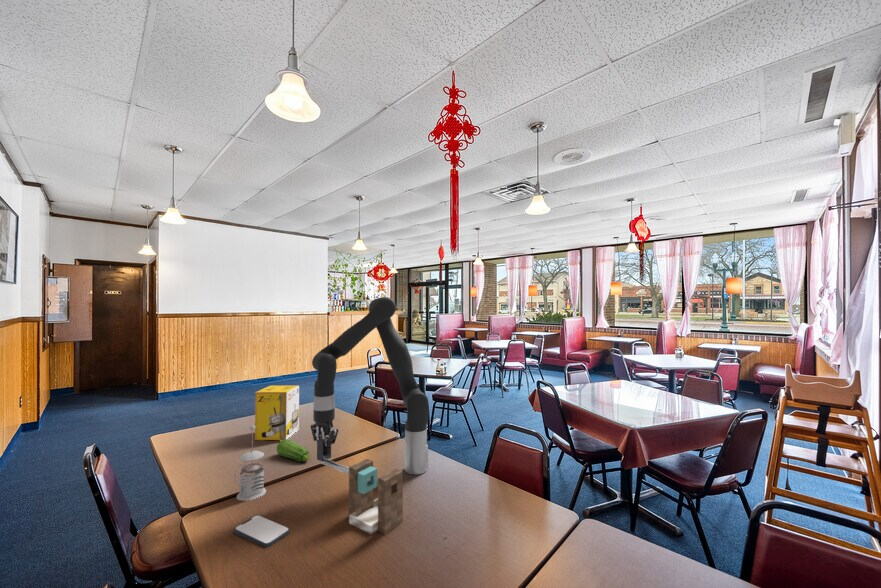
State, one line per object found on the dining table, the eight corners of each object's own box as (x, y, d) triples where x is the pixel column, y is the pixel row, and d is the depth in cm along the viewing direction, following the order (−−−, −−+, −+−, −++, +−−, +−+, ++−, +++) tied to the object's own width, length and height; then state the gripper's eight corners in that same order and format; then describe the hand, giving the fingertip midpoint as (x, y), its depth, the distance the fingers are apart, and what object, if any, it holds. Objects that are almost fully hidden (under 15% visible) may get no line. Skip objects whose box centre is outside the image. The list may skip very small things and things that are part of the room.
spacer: (357, 491, 119) (357, 472, 119) (370, 484, 124) (371, 466, 124) (363, 494, 117) (363, 475, 117) (377, 486, 122) (377, 468, 122)
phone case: (292, 533, 112) (257, 518, 119) (292, 528, 112) (257, 513, 119) (266, 551, 104) (231, 534, 111) (266, 545, 104) (231, 528, 111)
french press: (272, 489, 137) (273, 422, 138) (246, 505, 126) (247, 432, 127) (252, 485, 140) (253, 420, 141) (225, 500, 129) (226, 429, 130)
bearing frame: (342, 519, 117) (343, 469, 118) (372, 502, 128) (372, 456, 129) (379, 538, 108) (379, 484, 108) (407, 518, 118) (407, 468, 119)
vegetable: (283, 434, 172) (311, 443, 162) (289, 446, 175) (317, 455, 164) (271, 446, 167) (299, 456, 156) (277, 457, 169) (305, 468, 159)
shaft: (316, 464, 133) (317, 440, 133) (326, 461, 136) (326, 436, 137) (364, 484, 118) (365, 456, 119) (373, 479, 122) (373, 452, 122)
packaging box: (286, 441, 187) (286, 392, 187) (254, 441, 187) (255, 392, 188) (298, 430, 203) (299, 385, 204) (270, 430, 203) (270, 385, 204)
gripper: (344, 407, 134) (344, 455, 133) (320, 402, 142) (320, 447, 141) (327, 412, 128) (327, 462, 127) (303, 406, 136) (303, 453, 135)
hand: (324, 454), depth 134 cm, fingers closed on shaft, 3 cm apart
